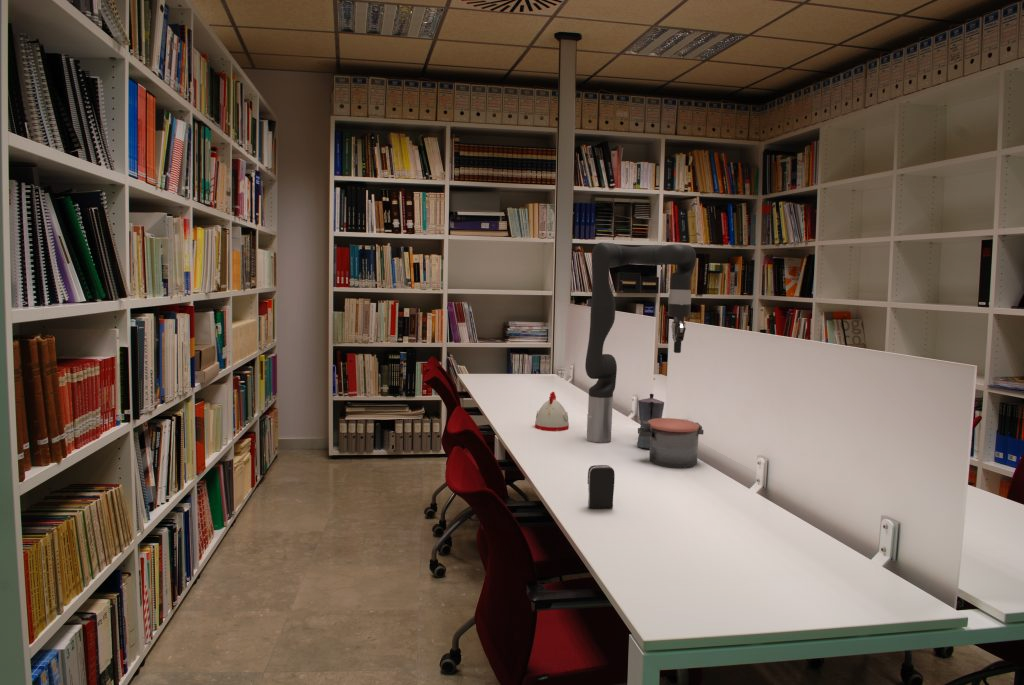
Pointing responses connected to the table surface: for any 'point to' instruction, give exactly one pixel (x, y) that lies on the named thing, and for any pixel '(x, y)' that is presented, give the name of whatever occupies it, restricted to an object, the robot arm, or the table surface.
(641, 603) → the table surface
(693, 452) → the cooker pot
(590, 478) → the battery charger
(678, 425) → the lid
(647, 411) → the moka pot
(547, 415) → the kitchen timer
